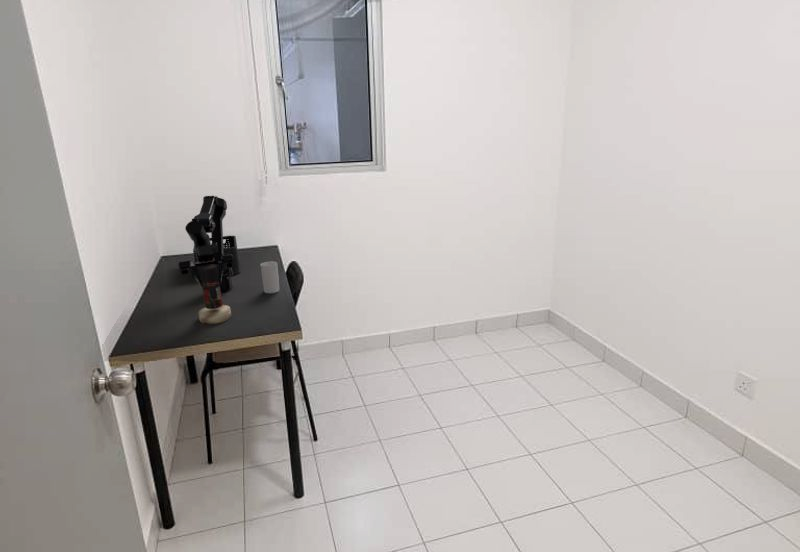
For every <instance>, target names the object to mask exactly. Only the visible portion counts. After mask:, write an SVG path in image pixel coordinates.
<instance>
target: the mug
mask: <svg viewBox="0 0 800 552" xmlns="http://www.w3.org/2000/svg"><path fill="white" fill-rule="evenodd" d="M260 271H261V278H262V284H263V291H264V293H265V294H275V293H278V292H280V280H279V268H278V262H276V261H265V262H262V263H260Z"/></svg>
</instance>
